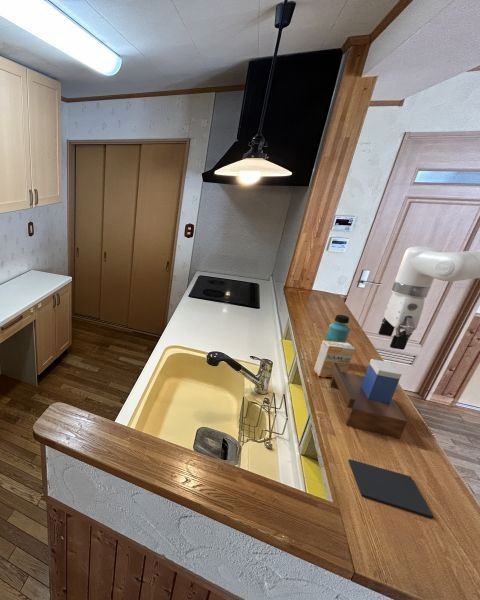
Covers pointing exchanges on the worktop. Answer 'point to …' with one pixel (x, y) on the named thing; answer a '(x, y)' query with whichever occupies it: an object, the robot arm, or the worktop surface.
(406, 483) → the mat
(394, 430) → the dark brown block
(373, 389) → the box
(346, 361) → the supplement box
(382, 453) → the worktop surface
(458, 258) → the robot arm
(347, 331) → the beverage bottle
